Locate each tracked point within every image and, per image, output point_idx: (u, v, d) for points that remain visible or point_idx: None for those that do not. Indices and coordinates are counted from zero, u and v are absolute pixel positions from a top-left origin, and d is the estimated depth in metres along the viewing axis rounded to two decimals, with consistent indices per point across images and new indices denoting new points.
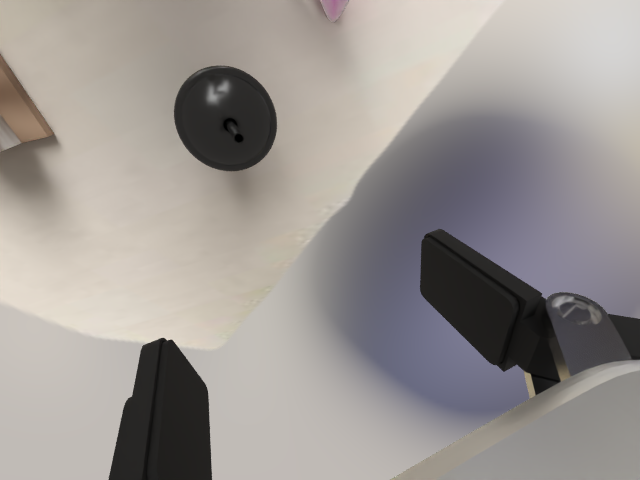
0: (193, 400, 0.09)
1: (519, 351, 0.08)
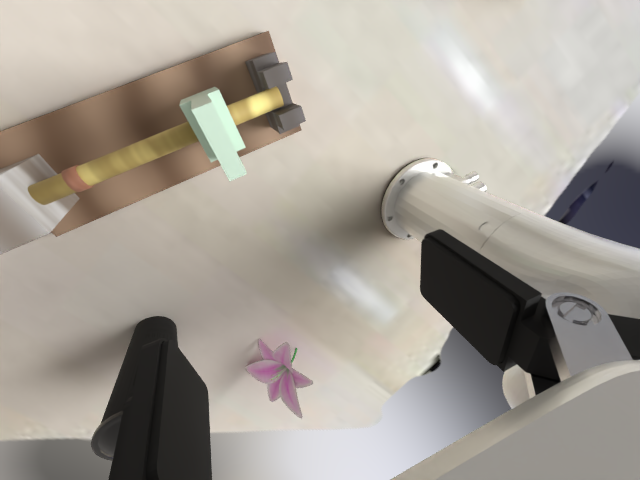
0: (193, 400, 0.09)
1: (519, 351, 0.08)
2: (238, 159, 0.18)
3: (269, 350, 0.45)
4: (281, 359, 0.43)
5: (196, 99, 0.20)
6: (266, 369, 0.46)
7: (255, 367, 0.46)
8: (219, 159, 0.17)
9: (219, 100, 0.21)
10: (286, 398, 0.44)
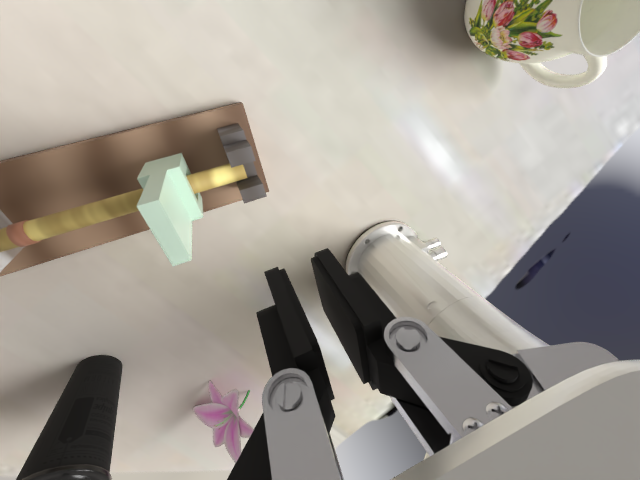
0: None
1: (373, 372, 0.08)
2: (183, 248, 0.18)
3: (218, 394, 0.44)
4: (229, 405, 0.42)
5: (154, 176, 0.20)
6: (213, 412, 0.45)
7: (203, 409, 0.45)
8: (163, 247, 0.18)
9: (179, 175, 0.21)
10: (230, 446, 0.43)
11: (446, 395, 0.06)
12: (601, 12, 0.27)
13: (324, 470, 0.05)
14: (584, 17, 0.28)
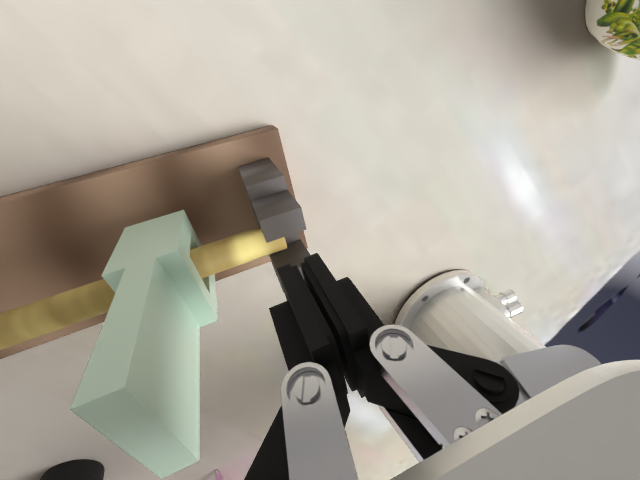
0: None
1: (360, 380, 0.08)
2: (182, 448, 0.09)
3: None
4: None
5: (131, 276, 0.11)
6: None
7: None
8: (139, 459, 0.08)
9: (178, 264, 0.12)
10: None
11: (430, 407, 0.06)
12: None
13: (340, 466, 0.05)
14: None
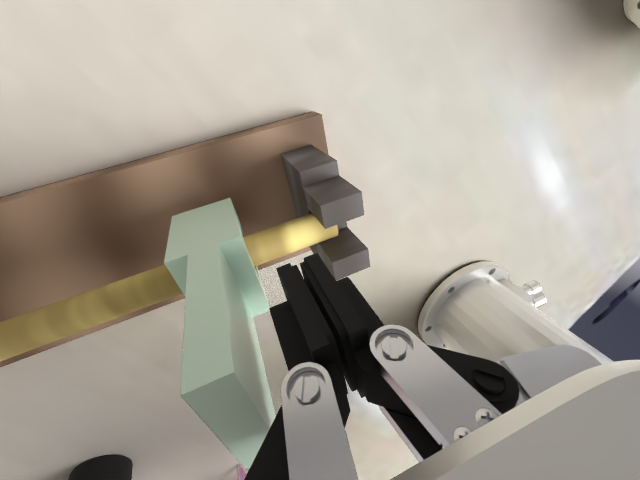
0: None
1: (360, 380, 0.08)
2: None
3: None
4: None
5: (197, 262, 0.11)
6: None
7: None
8: (231, 448, 0.08)
9: (238, 251, 0.12)
10: None
11: (430, 407, 0.06)
12: None
13: (340, 466, 0.05)
14: None
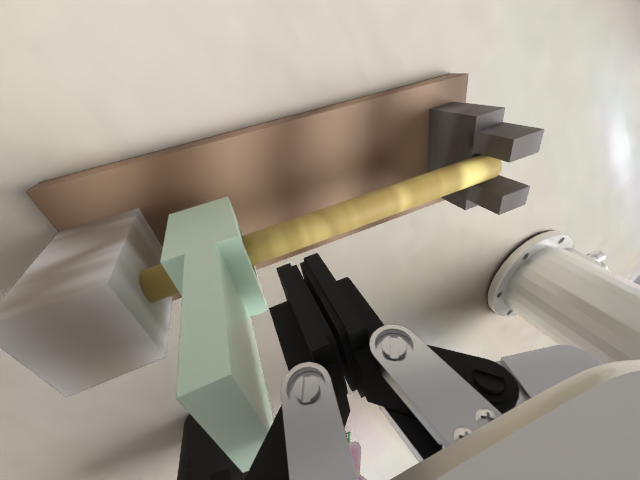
0: None
1: (360, 380, 0.08)
2: None
3: None
4: None
5: (194, 262, 0.10)
6: None
7: None
8: (228, 451, 0.08)
9: (236, 250, 0.12)
10: None
11: (430, 407, 0.06)
12: None
13: (340, 466, 0.05)
14: None
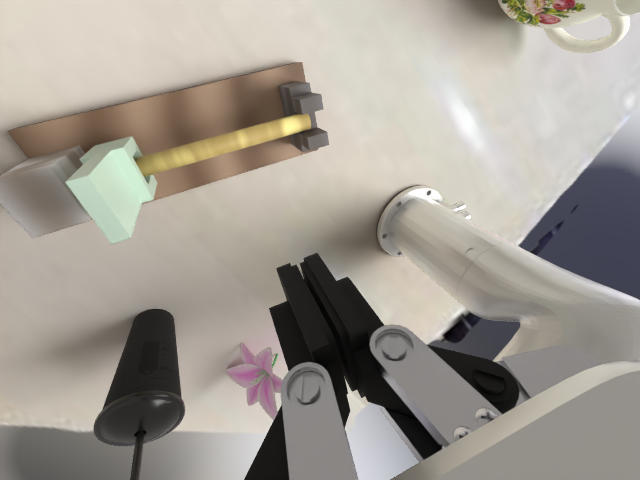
0: None
1: (360, 380, 0.08)
2: (120, 225, 0.18)
3: (251, 354, 0.46)
4: (262, 364, 0.45)
5: (95, 156, 0.20)
6: (246, 373, 0.47)
7: (236, 371, 0.48)
8: (98, 225, 0.18)
9: (123, 156, 0.22)
10: (264, 402, 0.45)
11: (430, 407, 0.06)
12: None
13: (340, 466, 0.05)
14: None
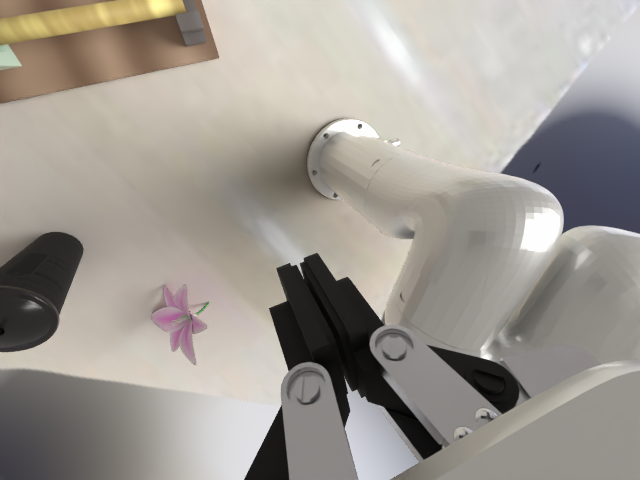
0: None
1: (360, 381, 0.08)
2: None
3: (172, 296, 0.44)
4: (181, 304, 0.43)
5: None
6: (169, 316, 0.45)
7: (159, 315, 0.46)
8: None
9: None
10: (184, 345, 0.43)
11: (430, 407, 0.06)
12: None
13: (340, 466, 0.05)
14: None
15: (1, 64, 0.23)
